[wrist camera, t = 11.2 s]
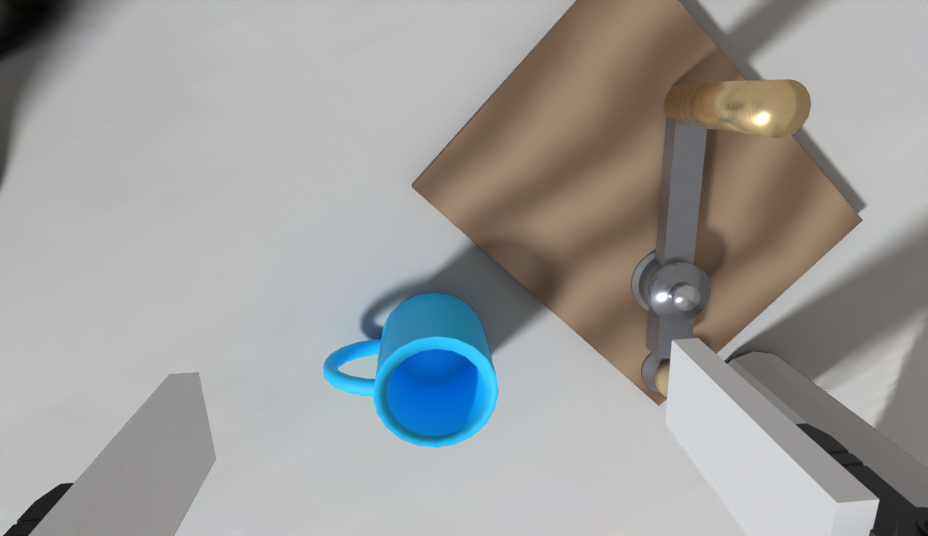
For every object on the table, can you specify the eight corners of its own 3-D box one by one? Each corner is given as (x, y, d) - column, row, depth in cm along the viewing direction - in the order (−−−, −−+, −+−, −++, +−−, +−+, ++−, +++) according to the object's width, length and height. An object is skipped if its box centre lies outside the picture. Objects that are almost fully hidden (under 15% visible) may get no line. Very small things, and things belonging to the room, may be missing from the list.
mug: (485, 291, 44) (500, 334, 36) (483, 385, 46) (496, 445, 38) (328, 293, 43) (308, 339, 35) (334, 389, 45) (317, 451, 37)
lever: (688, 343, 44) (774, 424, 34) (634, 346, 44) (703, 429, 33) (715, 81, 38) (830, 78, 28) (652, 83, 38) (744, 80, 27)
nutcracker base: (411, 184, 40) (411, 195, 36) (624, -53, 37) (650, -72, 33) (653, 398, 48) (676, 428, 43) (851, 216, 44) (897, 230, 40)
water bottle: (703, 351, 47) (1001, 626, 23) (795, 341, 47) (1182, 600, 23) (698, 446, 49) (958, 778, 26) (784, 435, 50) (1119, 752, 26)
